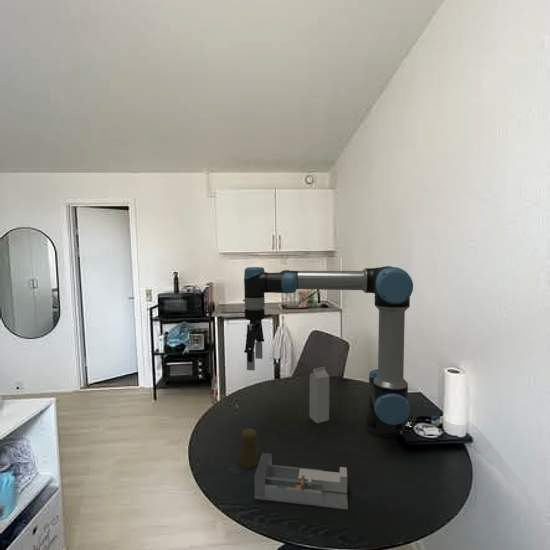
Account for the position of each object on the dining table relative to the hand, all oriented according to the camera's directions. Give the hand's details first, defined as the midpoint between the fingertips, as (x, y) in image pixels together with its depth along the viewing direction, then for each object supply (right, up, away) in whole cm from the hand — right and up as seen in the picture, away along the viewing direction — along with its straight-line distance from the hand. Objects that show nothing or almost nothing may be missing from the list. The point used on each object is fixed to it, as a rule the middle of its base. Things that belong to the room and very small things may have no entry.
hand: (255, 364), depth 130 cm
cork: (-1, -29, -15) cm, 33 cm away
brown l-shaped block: (+15, -29, -33) cm, 46 cm away
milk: (+26, -27, +15) cm, 40 cm away
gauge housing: (+15, -30, -29) cm, 44 cm away
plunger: (+21, -29, -30) cm, 46 cm away
